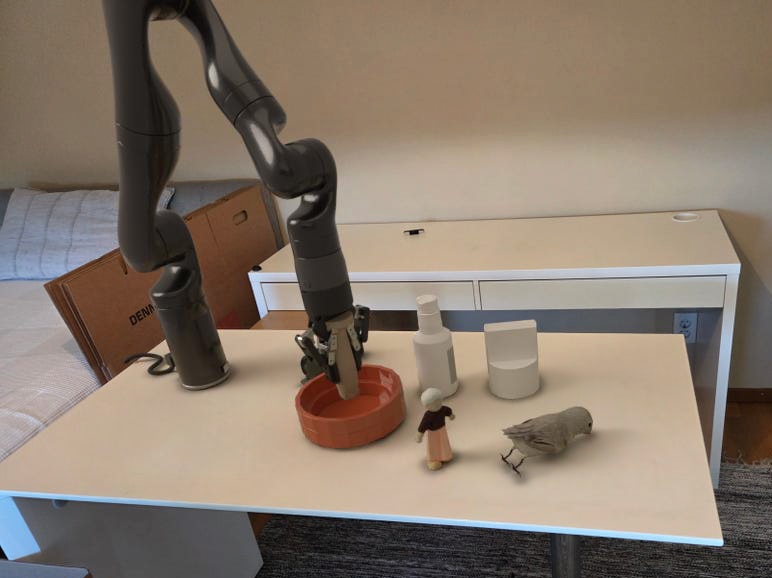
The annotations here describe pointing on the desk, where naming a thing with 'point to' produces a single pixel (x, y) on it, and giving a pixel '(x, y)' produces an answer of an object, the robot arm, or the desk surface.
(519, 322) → the base with upright slab
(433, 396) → the grandmother figurine
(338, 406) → the bowl
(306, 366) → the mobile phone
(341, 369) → the handle
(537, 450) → the decorative bird
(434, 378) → the spray bottle
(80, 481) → the desk surface
